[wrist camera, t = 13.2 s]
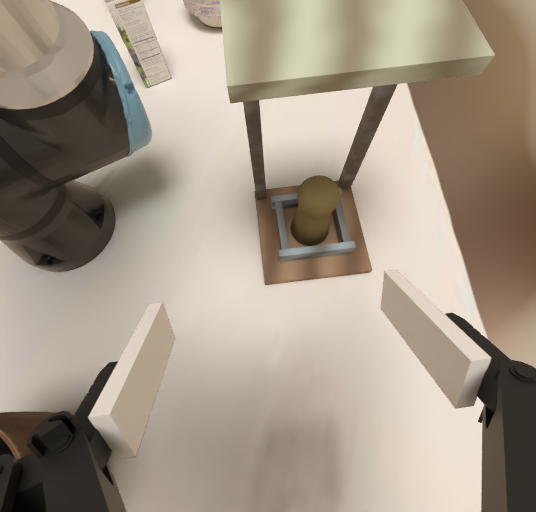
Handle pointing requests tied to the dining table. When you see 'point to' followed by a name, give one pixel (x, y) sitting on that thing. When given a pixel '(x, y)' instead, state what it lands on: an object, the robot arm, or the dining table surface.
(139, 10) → the syrup box
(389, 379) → the dining table surface
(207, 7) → the paper bowls
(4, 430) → the plant pot
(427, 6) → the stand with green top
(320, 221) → the cork
